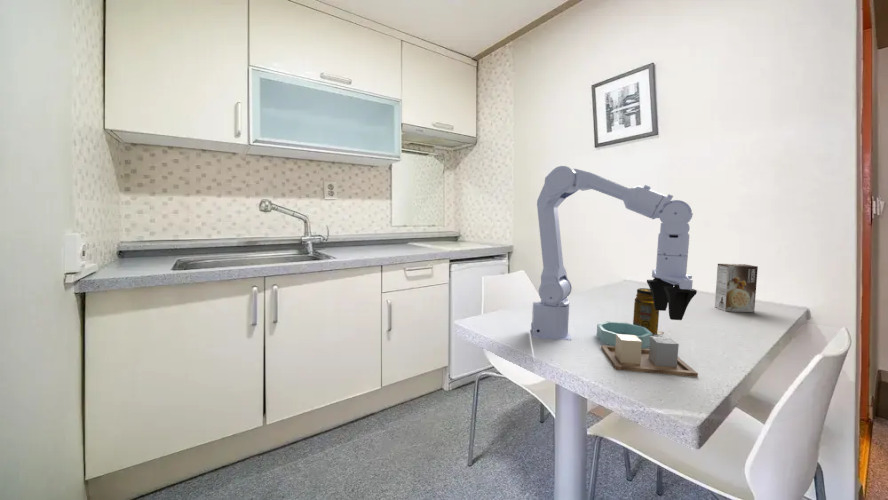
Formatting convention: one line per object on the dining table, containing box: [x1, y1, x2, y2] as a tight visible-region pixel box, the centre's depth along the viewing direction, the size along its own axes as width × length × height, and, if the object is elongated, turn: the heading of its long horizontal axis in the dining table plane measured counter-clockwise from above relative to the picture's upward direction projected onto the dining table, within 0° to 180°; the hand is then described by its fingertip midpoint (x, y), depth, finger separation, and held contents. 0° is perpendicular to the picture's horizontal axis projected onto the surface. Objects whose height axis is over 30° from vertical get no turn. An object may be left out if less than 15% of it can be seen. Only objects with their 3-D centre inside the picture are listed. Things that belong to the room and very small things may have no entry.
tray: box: [600, 344, 699, 378], centre depth 75 cm, size 15×12×1 cm
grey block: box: [648, 336, 680, 367], centre depth 74 cm, size 4×4×5 cm
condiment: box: [632, 287, 665, 335], centre depth 95 cm, size 7×8×12 cm
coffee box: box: [714, 263, 759, 313], centre depth 120 cm, size 9×6×16 cm
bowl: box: [596, 321, 654, 349], centre depth 87 cm, size 12×12×4 cm
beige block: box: [615, 334, 642, 364], centre depth 75 cm, size 4×4×5 cm
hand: (667, 314), depth 77 cm, fingers open, 7 cm apart
